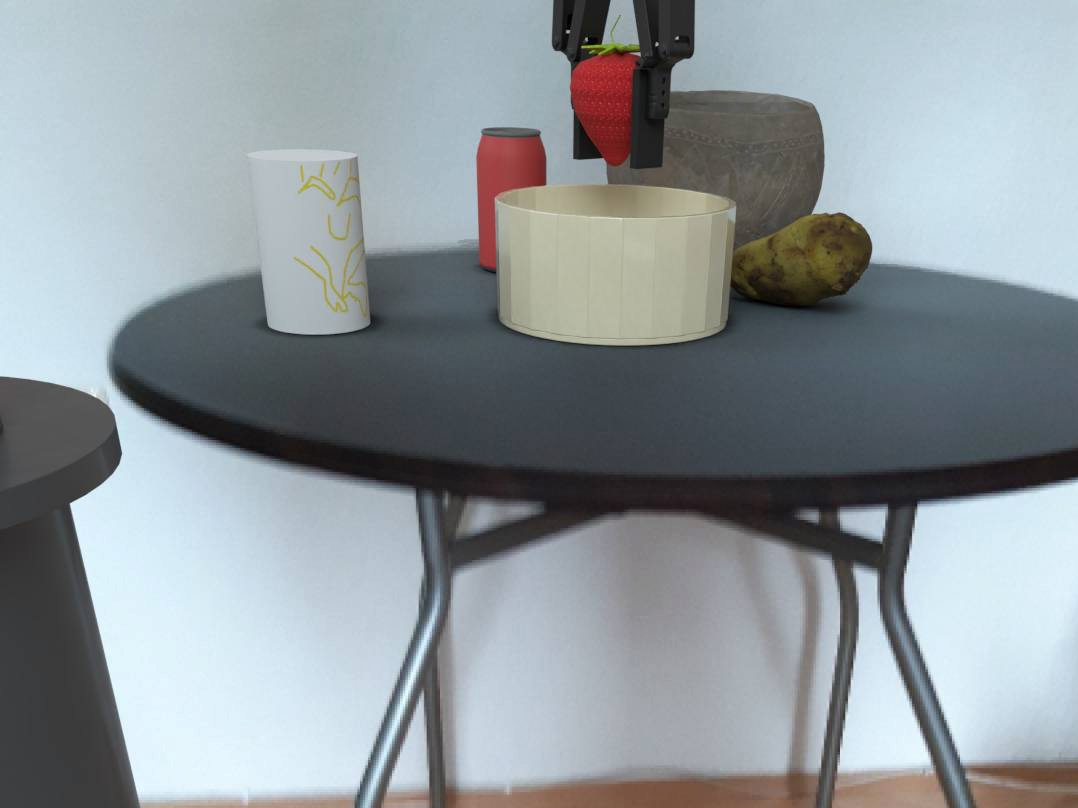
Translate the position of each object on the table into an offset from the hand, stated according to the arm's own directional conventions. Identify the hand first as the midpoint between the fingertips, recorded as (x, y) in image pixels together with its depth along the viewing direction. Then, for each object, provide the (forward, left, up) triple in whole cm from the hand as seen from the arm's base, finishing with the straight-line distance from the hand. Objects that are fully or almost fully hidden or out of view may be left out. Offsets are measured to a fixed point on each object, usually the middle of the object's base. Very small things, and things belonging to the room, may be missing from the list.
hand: (616, 162), depth 94 cm
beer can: (+6, +22, -12) cm, 26 cm away
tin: (0, 0, -12) cm, 12 cm away
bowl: (+23, +12, -12) cm, 29 cm away
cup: (-21, +12, -12) cm, 27 cm away
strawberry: (0, 0, -1) cm, 1 cm away
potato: (+16, -6, -12) cm, 21 cm away
